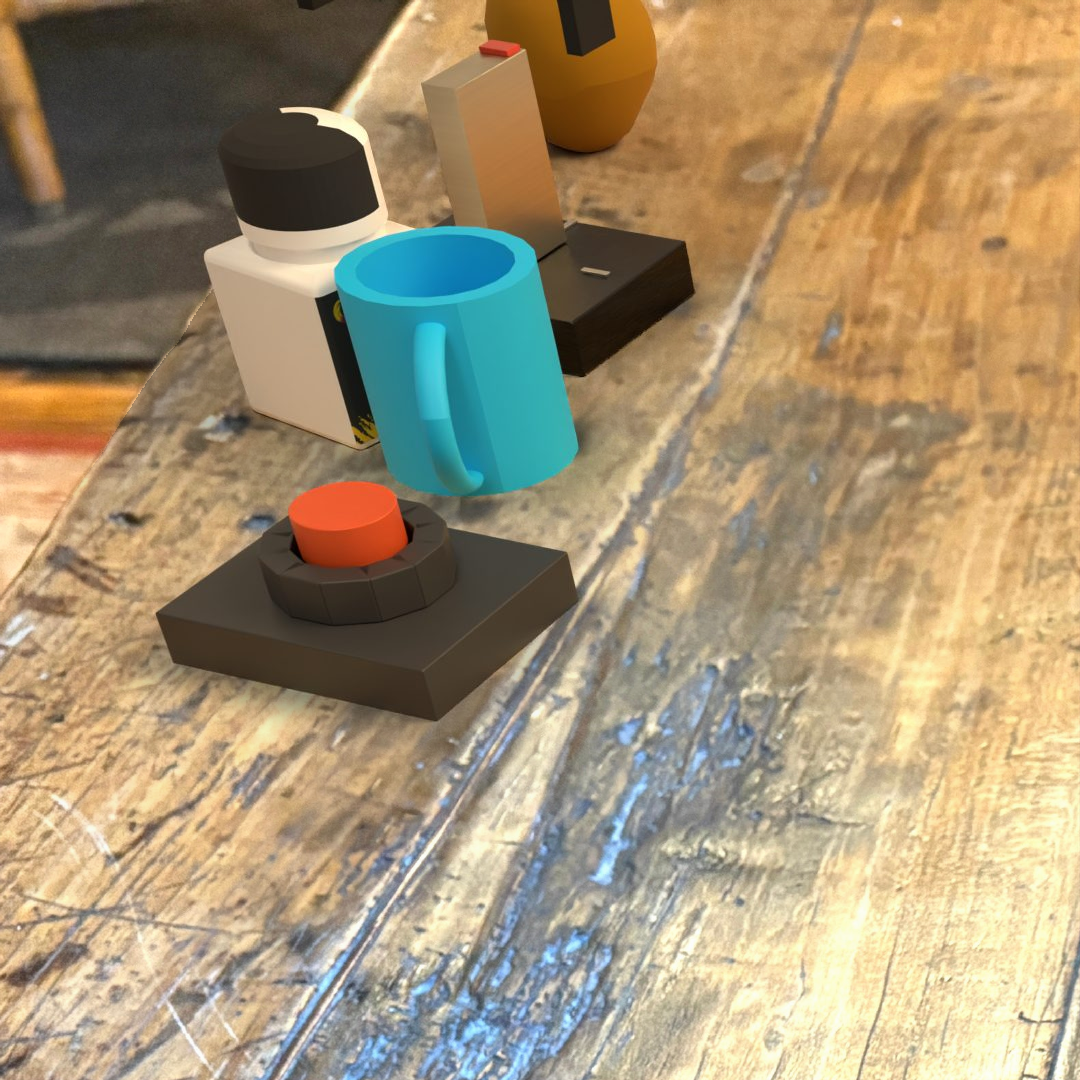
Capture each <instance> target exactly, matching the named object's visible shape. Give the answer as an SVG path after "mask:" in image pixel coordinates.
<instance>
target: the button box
mask: <svg viewBox="0 0 1080 1080" xmlns="http://www.w3.org/2000/svg"><path fill="white" fill-rule="evenodd" d="M396 498H397V497H396ZM397 502H398V505H399V509H400V512H401V516H402V519H403V523H404V526H405V530H406V534H407V537H408V545H407V546H406V547H404V548H403V549H402V550H401V551H399V552H398V553H397V554H395V555H394V556H393V557H390V558H387V559H384V560H381V561H378V562H375V563H371V564H368V565H365V566H356V567H342V568H326V567H322V566H317V565H312V564H308V563H306V562H305V561H304V560H303V558H302V556H301V553H300V550H299V547H298V544H297V541H296V538H295V534H294V531H293V528H292V525H291V522H290V518H289V515H286V516H284V517H283V518H282V519H280V520H278V522H276V523H274V525H272V526H271V527H269V528H268V529H266V530H265V531H263V533H262V534H261V536H260V537H259V538H258V539H256V540H255V541H253V542H252V543H251V544H249V545H248V546H245V548H244V549H242V550H240V552H238V553H237V554H235V555H234V556H233V557H231V558H230V559H228V560H227V561H225V562H224V563H223V564H221V565H220V566H219V567H217V568H216V569H214V570H213V571H211V572H210V573H209V574H207V575H206V576H204V577H203V578H201V580H199V581H197V582H196V583H195V584H193V585H192V586H190V587H189V588H188V589H186V590H185V591H184V592H182V593H180V594H179V595H177V597H175V598H174V599H172V600H171V601H170V602H168V603H167V604H166V605H164V606H162V607H161V608H160V609H158V610H157V611H156V612H155V617H156V619H157V623H158V626H159V627H160V630H161V633H162V636H163V639H164V641H165V644H166V647H167V649H168V652H169V656H170V659H171V661H172V663H173V664H175V665H176V664H177V665H179V666H180V665H181V666H184V667H190V668H194V669H199V670H203V671H206V672H212V673H216V674H221V675H225V676H230V677H234V678H238V679H243V680H247V681H252V682H256V683H261V684H265V685H270V686H275V687H278V688H279V687H280V688H283V689H289V690H292V691H297V692H301V693H306V694H310V695H314V696H315V695H316V696H319V697H324V698H328V699H333V700H336V701H337V700H338V701H341V702H347V703H350V704H351V703H352V704H355V705H360V706H364V707H368V708H373V709H378V710H383V711H386V712H391V713H396V714H400V715H404V716H405V715H406V716H410V717H414V718H418V719H423V720H426V721H432V722H439V721H440V720H441V719H442V718H443V717H445V716H446V715H447V714H448V713H449V712H451V710H453V709H454V708H455V707H457V705H458V704H460V703H461V702H462V701H463V700H465V699H466V698H467V697H468V696H469V695H471V694H472V692H474V691H475V690H476V689H478V688H479V687H480V686H481V685H482V684H483V683H485V681H487V680H488V679H489V678H491V677H492V676H493V675H494V674H495V673H496V672H498V671H499V670H500V669H501V668H502V667H503V666H504V665H506V664H507V663H508V662H509V661H510V660H511V659H513V658H514V657H515V656H516V655H517V654H519V653H520V652H521V651H522V650H523V649H524V648H526V647H527V646H528V645H529V644H531V642H533V641H534V640H535V639H536V638H538V637H539V636H540V635H541V634H542V633H543V632H545V631H546V630H547V629H548V628H549V627H551V626H552V625H553V624H554V623H555V622H556V621H557V620H559V619H560V618H561V617H562V616H563V615H565V613H567V612H568V611H569V610H570V609H572V608H573V607H574V606H575V605H576V604H577V603H579V596H578V591H577V587H576V583H575V578H574V575H573V571H572V566H571V562H570V557H569V553H568V551H565V550H559V549H555V548H551V547H545V546H540V545H536V544H530V543H525V542H521V541H517V540H511V539H506V538H501V537H496V536H491V535H487V534H481V533H478V532H477V533H476V532H472V531H467V530H462V529H457V528H452V527H448V524H447V521H446V520H445V519H444V518H443V517H441V516H440V515H439V514H438V513H436V512H435V511H434V510H433V509H431V508H430V506H428V505H427V504H425V503H423V502H419V501H413V500H407V499H403V498H399V497H398V498H397Z"/></svg>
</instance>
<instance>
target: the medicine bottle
mask: <svg viewBox="0 0 1080 1080" xmlns="http://www.w3.org/2000/svg"><path fill="white" fill-rule="evenodd" d="M216 152H217V156H218V158H219V161H220V165H221V169H222V172H223V175H224V178H225V181H226V186H227V189H228V191H229V195H230V198H231V201H232V205H233V208H234V211H235V214H236V218H237V221H238V225H239V229H240V231H241V233H242V235H239V236H237V237H234V238H232V239H230V240H227V241H225V242H222V243H220V244H217V245H215V246H213V247H210V248H208V249H206V250H205V251H204V253H203V260H204V264H205V267H206V269H207V273H208V276H209V280H210V283H211V286H212V290H213V292H214V295H215V298H216V301H217V305H218V308H219V311H220V315H221V317H222V322H223V324H224V328H225V330H226V334H227V337H228V341H229V344H230V347H231V349H232V353H233V356H234V359H235V362H236V366H237V369H238V371H239V375H240V378H241V381H242V385H243V387H244V391H245V394H246V397H247V402H248V404H249V406H250V408H251V409H252V410H253V411H254V412H256V413H257V414H261V415H263V416H267V417H269V418H272V419H275V420H277V421H280V422H283V423H286V424H288V425H291V426H294V427H295V428H296V427H297V428H298V429H300V430H304V431H307V432H309V433H312V434H315V435H318V436H320V437H323V438H326V439H328V440H331V441H335V442H336V443H339V444H343V445H345V446H347V447H350V448H353V449H356V450H359V451H360V450H366V449H368V448H370V447H371V446H373V445H375V444H378V443H380V440H379V436H378V433H377V429H376V426H375V422H374V418H373V415H372V411H371V408H370V404H369V401H368V397H367V394H366V390H365V387H364V383H363V379H362V376H361V372H360V369H359V365H358V362H357V358H356V355H355V351H354V348H353V344H352V341H351V337H350V333H349V330H348V326H347V323H346V319H345V316H344V312H343V309H342V305H341V302H340V298H339V294H338V291H337V287H336V284H335V276H334V268H335V267H336V266H337V264H338V263H339V262H340V260H341V259H342V258H343V256H345V255H346V254H348V253H349V252H351V251H353V250H354V249H356V248H357V247H359V246H360V245H362V244H365V243H368V242H370V241H373V240H376V239H378V238H381V237H384V236H386V235H391V234H395V233H400V232H405V231H409V230H414V229H415V227H411V226H408V225H405V224H402V223H398V222H396V221H392V220H389V219H388V218H389V211H388V207H387V204H386V200H385V197H384V192H383V188H382V185H381V181H380V177H379V173H378V170H377V165H376V161H375V158H374V154H373V151H372V147H371V143H370V138H369V135H368V133H367V130H366V129H365V128H364V127H363V126H362V125H361V124H359V122H357V121H356V120H354V119H353V118H352V117H350V116H348V115H345V114H342V113H338V112H335V111H333V110H329V109H323V108H320V107H319V108H318V107H310V106H309V107H308V106H295V107H294V106H293V107H292V106H290V107H281V108H280V107H279V108H273V109H268V110H265V111H260V112H257V113H254V114H252V115H249V116H247V117H245V118H243V119H241V120H240V121H238V122H236V123H235V124H233V125H231V126H230V127H228V128H227V129H226V130H225V131H224V132H223V133H222V135H221V137H220V139H219V141H218V142H217V146H216Z"/></svg>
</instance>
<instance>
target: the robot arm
mask: <svg viewBox="0 0 1080 1080" xmlns="http://www.w3.org/2000/svg"><path fill="white" fill-rule="evenodd" d="M334 1H335V0H296V3H297V6H298V9H303V10H307V11H312V12H313V11H315V10H318V9H320V8H322V7H324V6H326V5H328V4H330V3H332V2H334ZM557 4H558V9H559V14H560V19H561V24H562V30H563V35H564V40H565V45H566V51H567V54H569V55H575V56H581V57H583V56H585V55H586V54H588V53H590V52H592V51H593V50H595V49H597V48H598V47H600V46H602V45H604V44H605V43H607V42H609V41H611V40H612V39H614V38H616V35H615V30H614V24H613V18H612V13H611V7H610V2H609V0H557Z"/></svg>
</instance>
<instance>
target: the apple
mask: <svg viewBox="0 0 1080 1080" xmlns="http://www.w3.org/2000/svg"><path fill="white" fill-rule="evenodd" d="M609 2H610V7H611V13H612V18H613V24H614V30H615V35H616V38H614V39H612V40H611V41H609V42H607V43H605V44H604V45H602V46H600V47H598V48H597V49H595V50H593V51H592V52H590V53H588V54H586V55H585V56H583V57H581V56H575V55H569V54H567V51H566V45H565V40H564V35H563V30H562V24H561V19H560V14H559V9H558V4H557V0H486V1H485V11H484V27H485V31H486V35H487V42H488V41H490V40H497V41H503V42H509V43H515V44H519V45H520V48H521V49H526V53H527V57H528V62H529V67H530V71H531V76H532V81H533V85H534V90H535V94H536V99H537V104H538V108H539V113H540V118H541V122H542V127H543V131H544V136H545V140H547V141H548V142H549V143H550V144H553V145H555V146H557V147H560V148H562V149H564V150H568V151H572V152H576V153H594V152H600V151H602V150H606V149H608V148H610V147H613V146H614V145H616V144H617V143H618V142H619V141H621V139H623V138H624V137H626V136H627V135H628V134H629V133H630V132H631V130H632V129H633V126H634V124H635V122H636V120H637V118H638V115H640V112H641V109H642V107H643V105H644V103H645V101H646V99H647V96H648V94H649V92H650V90H651V87H652V86H653V84H654V81H655V76H656V71H657V65H658V51H657V50H658V49H657V40H656V39H657V38H656V34H655V31H654V27H653V24H652V20H651V18H650V15H649V12H648V11H647V9H646V7H645V5H644V4H643V1H642V0H609Z"/></svg>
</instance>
